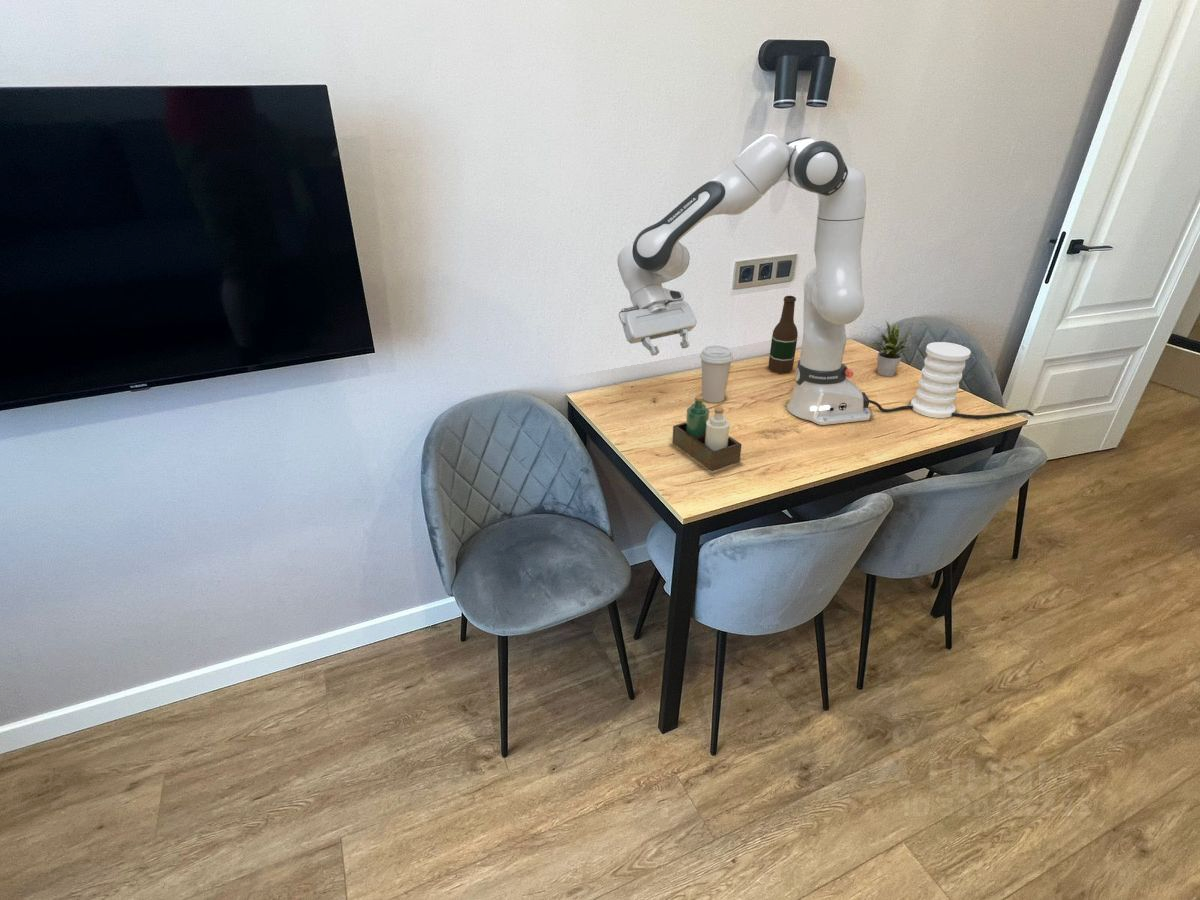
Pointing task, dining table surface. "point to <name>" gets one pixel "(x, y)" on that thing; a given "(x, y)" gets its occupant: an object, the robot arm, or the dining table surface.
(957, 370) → the decorative container
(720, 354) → the coffee cup
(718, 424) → the cream bottle
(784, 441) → the dining table surface
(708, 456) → the caddy
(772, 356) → the beer bottle
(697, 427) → the green bottle
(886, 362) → the house plant
